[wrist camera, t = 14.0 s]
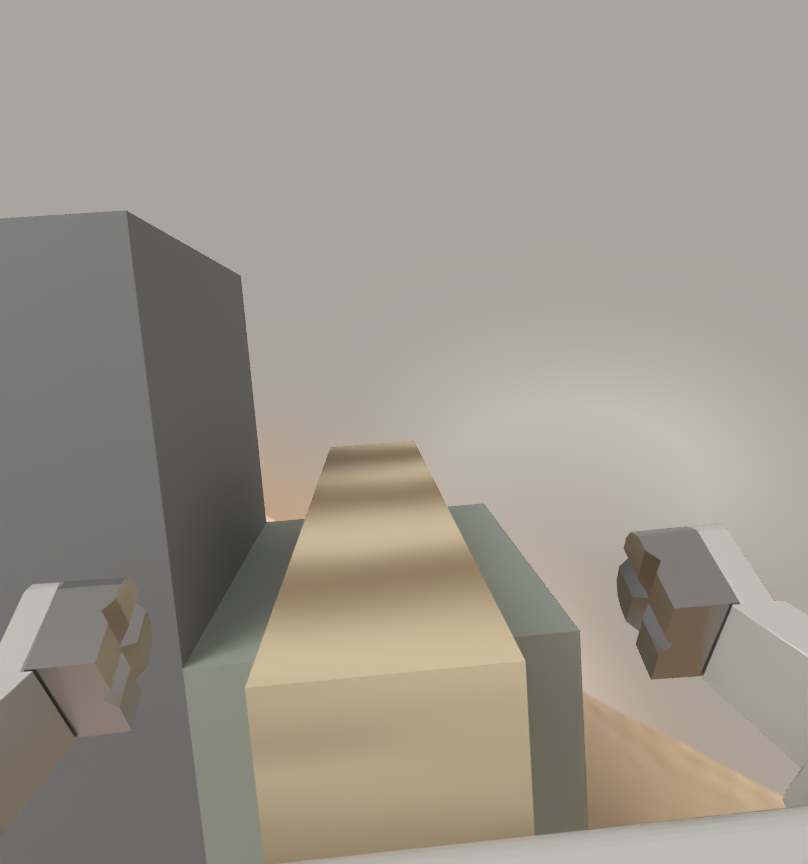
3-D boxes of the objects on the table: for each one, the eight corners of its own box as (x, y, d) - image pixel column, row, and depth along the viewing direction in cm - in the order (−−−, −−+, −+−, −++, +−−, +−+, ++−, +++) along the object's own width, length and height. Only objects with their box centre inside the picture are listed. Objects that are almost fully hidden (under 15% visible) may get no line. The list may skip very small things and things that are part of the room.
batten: (538, 910, 9) (524, 661, 8) (272, 940, 9) (244, 687, 8) (419, 521, 29) (413, 440, 28) (337, 528, 29) (330, 447, 28)
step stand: (600, 1133, 19) (561, 182, 16) (-128, 1228, 18) (-337, 240, 15) (501, 801, 33) (469, 259, 29) (86, 846, 32) (4, 292, 29)
